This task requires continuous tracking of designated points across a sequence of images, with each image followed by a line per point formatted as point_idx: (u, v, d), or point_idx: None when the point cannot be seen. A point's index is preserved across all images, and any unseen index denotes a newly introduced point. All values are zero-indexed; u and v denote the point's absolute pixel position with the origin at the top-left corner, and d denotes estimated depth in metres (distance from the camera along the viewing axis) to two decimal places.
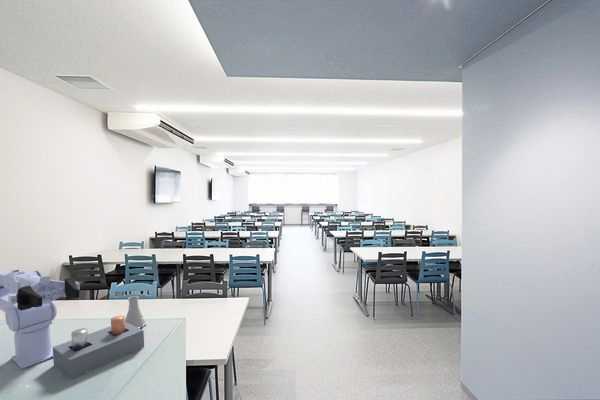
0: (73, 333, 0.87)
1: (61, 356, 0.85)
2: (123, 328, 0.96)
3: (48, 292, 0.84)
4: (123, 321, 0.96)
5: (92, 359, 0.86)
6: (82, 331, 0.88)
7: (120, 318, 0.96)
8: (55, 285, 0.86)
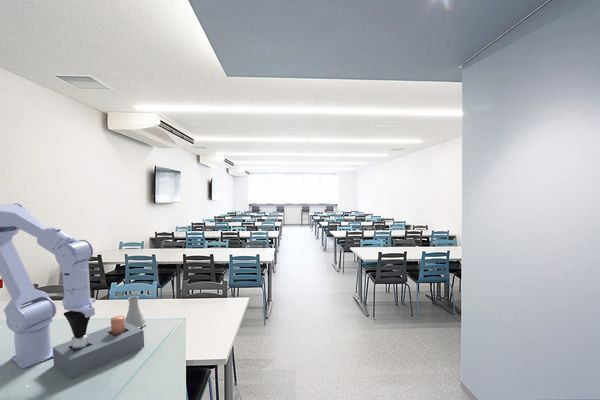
0: (73, 338, 0.87)
1: (61, 356, 0.85)
2: (123, 328, 0.96)
3: None
4: (123, 321, 0.96)
5: (92, 359, 0.86)
6: (83, 336, 0.88)
7: (120, 318, 0.96)
8: None
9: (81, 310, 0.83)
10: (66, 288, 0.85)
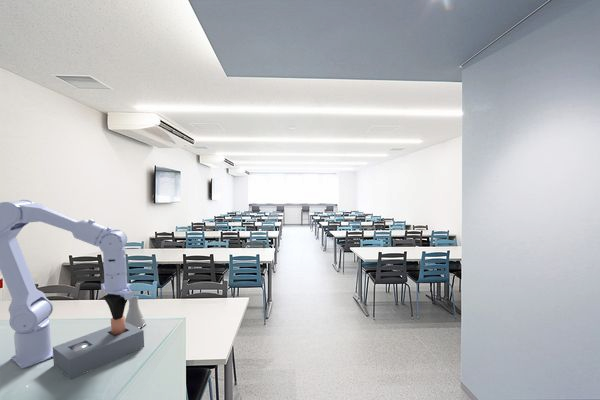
0: (74, 348, 0.87)
1: (61, 356, 0.85)
2: (123, 328, 0.96)
3: None
4: (123, 321, 0.96)
5: (92, 359, 0.86)
6: (83, 346, 0.88)
7: (120, 318, 0.96)
8: None
9: (121, 293, 0.92)
10: (111, 273, 0.93)
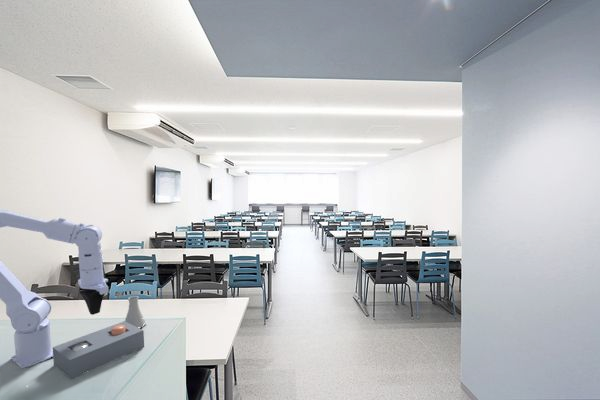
0: (74, 348, 0.87)
1: (61, 356, 0.85)
2: None
3: None
4: (123, 331, 0.96)
5: (92, 359, 0.86)
6: (83, 346, 0.88)
7: (120, 328, 0.96)
8: None
9: (96, 288, 0.92)
10: (88, 268, 0.93)
